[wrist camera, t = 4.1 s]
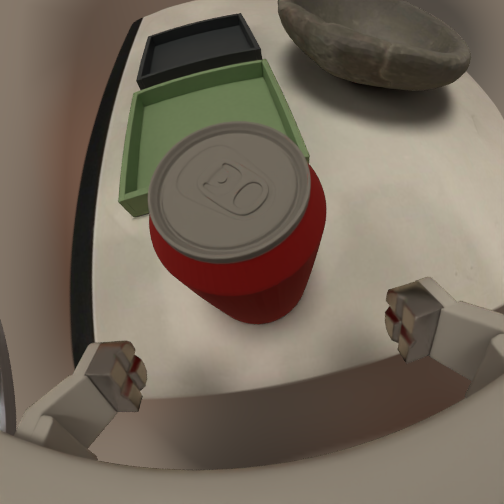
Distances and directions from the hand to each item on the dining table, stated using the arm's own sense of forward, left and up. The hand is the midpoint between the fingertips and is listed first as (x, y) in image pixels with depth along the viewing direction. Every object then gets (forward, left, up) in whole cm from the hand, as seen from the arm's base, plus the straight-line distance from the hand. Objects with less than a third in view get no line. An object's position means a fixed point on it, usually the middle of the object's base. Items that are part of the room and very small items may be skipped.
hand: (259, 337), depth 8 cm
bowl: (+19, +28, -11) cm, 35 cm away
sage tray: (-2, +20, -11) cm, 23 cm away
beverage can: (0, +5, -11) cm, 12 cm away
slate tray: (-2, +38, -11) cm, 39 cm away
